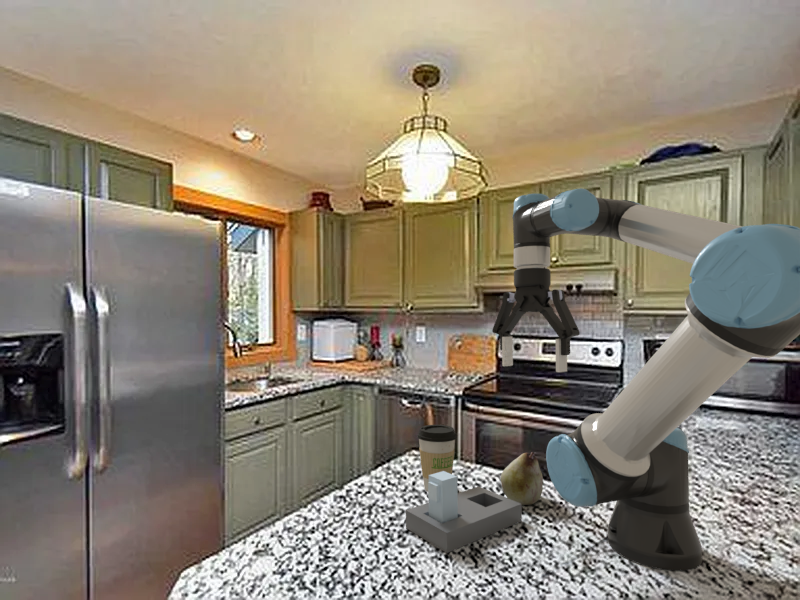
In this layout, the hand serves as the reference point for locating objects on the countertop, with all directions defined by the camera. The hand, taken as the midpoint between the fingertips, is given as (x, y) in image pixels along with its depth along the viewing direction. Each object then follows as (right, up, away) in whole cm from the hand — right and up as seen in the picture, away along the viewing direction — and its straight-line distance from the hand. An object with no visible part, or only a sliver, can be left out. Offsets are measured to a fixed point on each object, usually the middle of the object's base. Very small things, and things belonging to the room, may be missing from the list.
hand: (533, 368), depth 95 cm
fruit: (0, -32, +9) cm, 33 cm away
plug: (-20, -31, -7) cm, 37 cm away
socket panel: (-15, -32, -4) cm, 35 cm away
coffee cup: (-19, -33, +16) cm, 41 cm away
